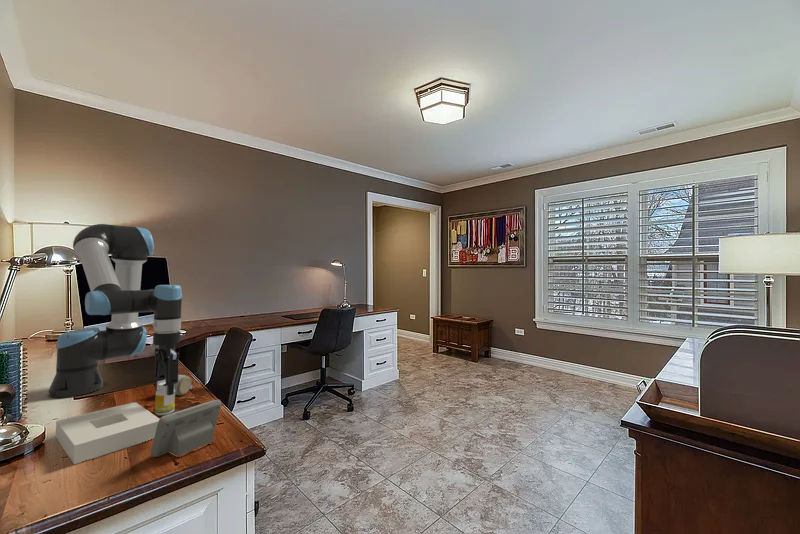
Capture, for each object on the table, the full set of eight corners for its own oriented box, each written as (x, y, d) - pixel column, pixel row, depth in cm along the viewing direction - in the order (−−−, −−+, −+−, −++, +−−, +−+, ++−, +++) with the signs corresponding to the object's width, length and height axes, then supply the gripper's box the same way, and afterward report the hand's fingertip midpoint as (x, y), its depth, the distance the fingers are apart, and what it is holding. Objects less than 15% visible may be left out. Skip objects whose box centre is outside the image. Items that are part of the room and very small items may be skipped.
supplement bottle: (156, 410, 114) (157, 381, 114) (175, 408, 116) (176, 379, 116) (153, 416, 109) (154, 386, 109) (173, 414, 111) (174, 384, 111)
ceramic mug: (178, 398, 125) (179, 377, 125) (157, 397, 125) (158, 376, 126) (198, 389, 135) (199, 369, 135) (179, 388, 136) (179, 368, 136)
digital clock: (214, 431, 100) (215, 394, 100) (227, 442, 94) (228, 403, 94) (146, 452, 87) (147, 411, 88) (156, 466, 81) (157, 421, 82)
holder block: (55, 437, 95) (56, 420, 95) (134, 416, 109) (135, 401, 109) (74, 464, 81) (74, 445, 82) (161, 436, 96) (161, 420, 96)
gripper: (143, 329, 115) (141, 399, 115) (165, 336, 104) (162, 413, 104) (169, 327, 121) (167, 393, 121) (191, 333, 110) (189, 405, 110)
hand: (165, 402), depth 112 cm, fingers closed on supplement bottle, 5 cm apart
